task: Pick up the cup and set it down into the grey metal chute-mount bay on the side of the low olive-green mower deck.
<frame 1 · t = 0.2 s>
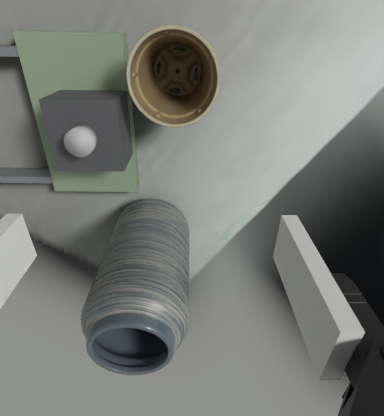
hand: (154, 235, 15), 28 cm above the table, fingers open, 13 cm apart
vase: (154, 221, 48), on the table
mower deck: (89, 118, 39), on the table
flower pot: (177, 70, 36), on the table
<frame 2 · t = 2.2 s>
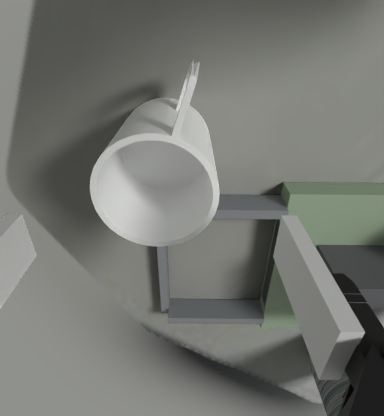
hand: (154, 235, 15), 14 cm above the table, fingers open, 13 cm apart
vase: (342, 341, 43), on the table
cup: (172, 123, 26), on the table
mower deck: (318, 257, 34), on the table
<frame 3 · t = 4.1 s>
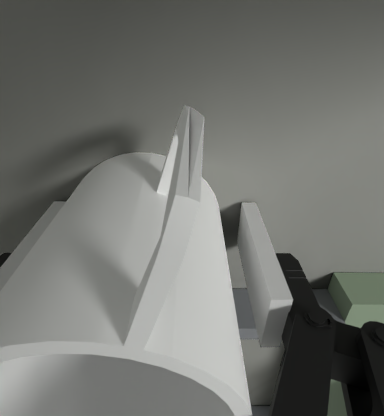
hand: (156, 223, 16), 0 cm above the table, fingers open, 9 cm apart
cup: (157, 191, 15), on the table, touching gripper
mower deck: (373, 361, 23), on the table
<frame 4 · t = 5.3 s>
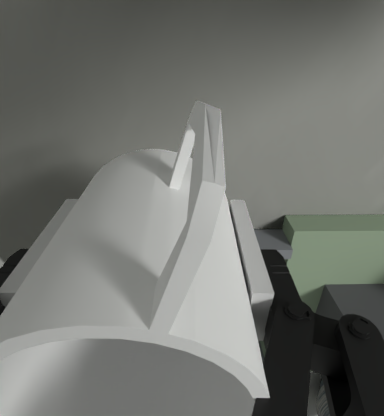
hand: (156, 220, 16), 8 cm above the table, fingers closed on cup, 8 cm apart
vase: (350, 379, 39), on the table
cup: (166, 187, 16), point 7 cm above the table, touching gripper
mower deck: (324, 294, 31), on the table
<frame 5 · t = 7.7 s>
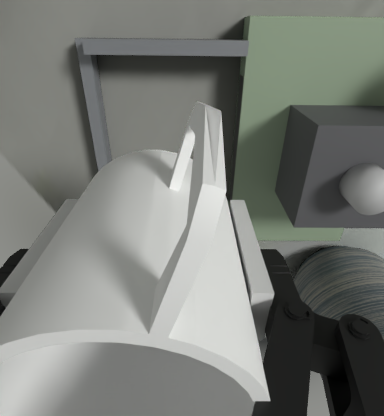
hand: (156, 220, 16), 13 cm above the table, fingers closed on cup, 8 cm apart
vase: (330, 270, 37), on the table
cup: (166, 188, 15), point 13 cm above the table, touching gripper
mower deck: (295, 142, 28), on the table
when the fingers open (3 cm above the table, at t = 10.3 s): cup drops 2 cm, resting in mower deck.
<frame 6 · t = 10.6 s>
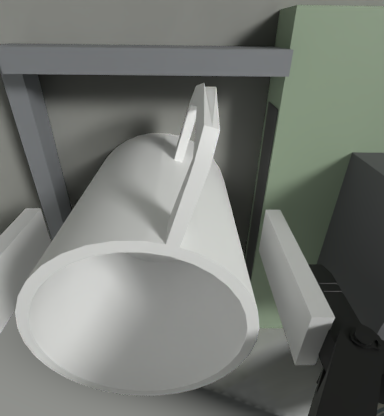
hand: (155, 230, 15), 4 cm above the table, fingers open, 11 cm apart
cup: (170, 168, 18), resting in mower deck
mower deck: (345, 197, 19), on the table
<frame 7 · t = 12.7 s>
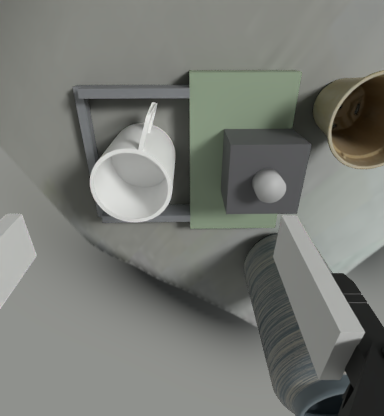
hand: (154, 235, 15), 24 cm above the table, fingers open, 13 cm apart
vase: (276, 253, 46), on the table
cup: (147, 140, 37), resting in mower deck
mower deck: (235, 154, 37), on the table
flower pot: (336, 105, 35), on the table
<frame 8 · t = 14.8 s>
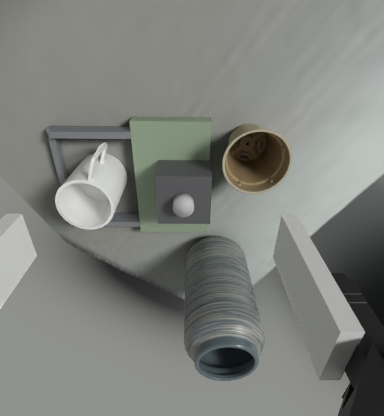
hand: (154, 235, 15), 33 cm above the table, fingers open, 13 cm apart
vase: (214, 251, 58), on the table
cup: (105, 165, 48), resting in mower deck
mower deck: (172, 176, 49), on the table
flower pot: (246, 142, 46), on the table
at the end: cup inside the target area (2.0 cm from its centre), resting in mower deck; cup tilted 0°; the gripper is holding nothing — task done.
